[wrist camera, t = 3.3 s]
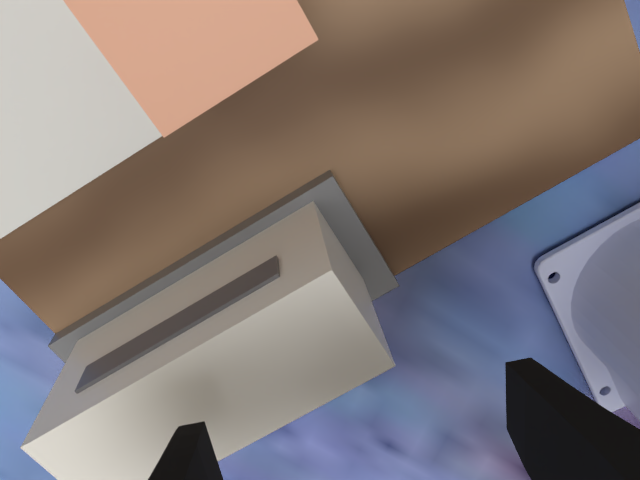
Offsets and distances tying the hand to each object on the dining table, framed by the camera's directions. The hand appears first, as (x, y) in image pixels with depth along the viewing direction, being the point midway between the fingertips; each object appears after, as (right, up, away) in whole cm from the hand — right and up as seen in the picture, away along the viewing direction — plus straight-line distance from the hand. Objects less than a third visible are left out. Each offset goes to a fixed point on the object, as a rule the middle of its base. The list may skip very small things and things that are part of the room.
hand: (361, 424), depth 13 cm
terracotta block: (-4, +12, +4) cm, 13 cm away
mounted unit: (-5, +2, +9) cm, 10 cm away
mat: (-11, +8, +4) cm, 14 cm away
